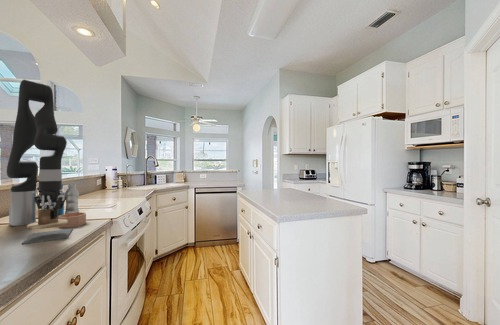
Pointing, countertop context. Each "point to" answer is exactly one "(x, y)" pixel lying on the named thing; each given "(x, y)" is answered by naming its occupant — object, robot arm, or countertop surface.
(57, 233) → the charcoal mat
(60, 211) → the beverage bottle
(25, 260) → the countertop surface
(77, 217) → the terracotta bowl
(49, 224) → the oak lid
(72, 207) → the plastic bottle
